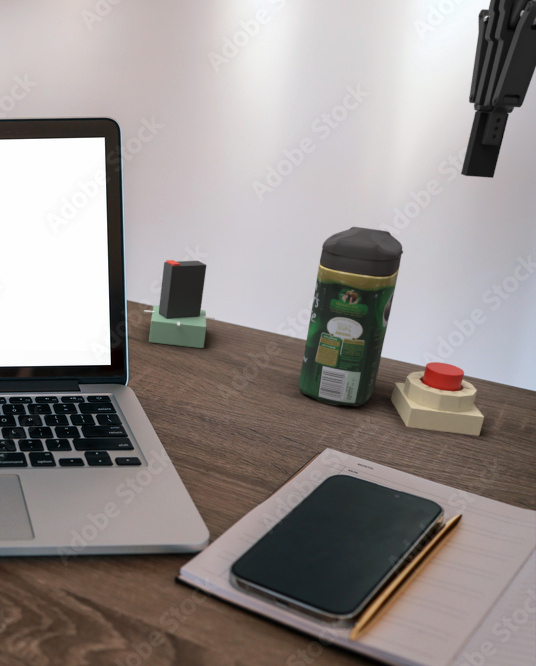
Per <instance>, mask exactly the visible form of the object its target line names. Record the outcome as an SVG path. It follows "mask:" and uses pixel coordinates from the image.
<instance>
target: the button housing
mask: <svg viewBox="0 0 536 666" xmlns="http://www.w3.org/2000/svg"><path fill="white" fill-rule="evenodd" d="M424 372H425V370H421V371H412V372H410V373H409V374H408V375H407V376H406V378H405V382H398V381H397V382H394V385H393V389H392V394H391V397H390V401H391V402H392V405H393V406H394V408H395V410H396V411H397V413H398V415H399V416H400V418H401V420H402V421H403V423H404V424H405V427H406V428H413V429H421V430H428V431H437V432H445V433H452V434H461V435H462V434H463V435H468V436H478V437H479V436H480V433H481V431H482V427H483V423H484V420H485V416H484V414H483V413H482V412H481V411H480V410H479V409H478V407H477V406H476V405H475V401H476V397H477V393H478V392H477V391H478V389H477V388H476V387H475V386H474V385H473V384H472V383H471V382H469V381H466V380H465V379H463V380H462V384H461V387H460V391H454V392H453V391H444V390H439V389H435V388H432V387H429V386H427V385H425V384H423V383H422V380H423V376H424Z"/></svg>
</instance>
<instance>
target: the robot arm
mask: <svg viewBox="0 0 536 666" xmlns="http://www.w3.org/2000/svg"><path fill="white" fill-rule="evenodd" d="M477 17H478V19H477V20H478V22H477V23H478V33H477V41H476V47H475V54H474V63H473V68H472V69H473V70H472V76H471V83H470V90H469V96H468V103H469V104H473V110H474V111H475V112H474V116H473V121H472V125H471V129H470V133H469V137H468V142H467V146H466V151H465V156H464V160H463V164H462V168H461V173H460V175H463V176H465V177H475V178H491V179H494V176H495V172H496V167H497V166H498V165H497V164H498V161H499V155H500V152H501V149H502V144H503V139H504V137H505V136H504V135H505V131H506V127H507V124H508V123H507V122H508V119H509V115H510V114H511V113H512V112H513V111H514V109H515V108H521V107H522V106H523V105H524V102H525V98H526V96H527V93H528V90H529V87H530V84H531V81H532V79H533V76H534V73H535V71H536V0H489V6H488V9H484V8H483V9H481V10H480V12H479V13H478V16H477Z"/></svg>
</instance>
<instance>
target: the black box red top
mask: <svg viewBox="0 0 536 666" xmlns="http://www.w3.org/2000/svg"><path fill="white" fill-rule="evenodd" d="M206 272H207V264H206V263H203V262H202V261H200V260H181V261H180V260H178V261H176V260H174V259H167V260H165V261H164V262H163V270H162V278H161V279H162V280H161V288H160V296H159V305H158V306H159V314H160V315H162V316H163V317H165V318H182V317H197V316H200V311H201V310H202V303H203V295H204V287H205V280H206Z"/></svg>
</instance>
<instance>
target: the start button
mask: <svg viewBox="0 0 536 666" xmlns="http://www.w3.org/2000/svg"><path fill="white" fill-rule="evenodd" d="M424 371H425V372H424V376H423V380H422V383H423V384H425V385H427V386H429V387H432V388H435V389H439V390H444V391H453V392H454V391H460V387H461V384H462V380H464V376H465V371H464V370H463V369H462V368H460V367H459V366H456V365H453V364H450V363H446V362H438V361H437V362H436V361H434V362H433V361H432V362H427V363H426V365H425V368H424Z"/></svg>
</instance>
